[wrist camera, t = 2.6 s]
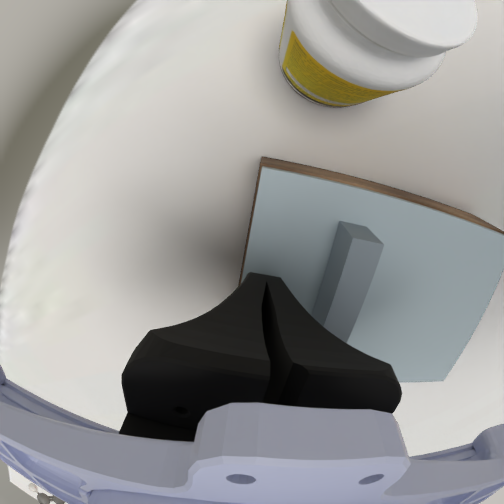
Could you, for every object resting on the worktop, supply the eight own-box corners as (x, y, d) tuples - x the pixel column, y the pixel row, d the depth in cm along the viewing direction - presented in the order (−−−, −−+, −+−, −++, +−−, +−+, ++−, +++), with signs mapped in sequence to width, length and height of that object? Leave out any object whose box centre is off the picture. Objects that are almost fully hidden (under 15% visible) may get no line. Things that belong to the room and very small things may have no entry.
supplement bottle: (383, 109, 13) (513, 97, 4) (284, 110, 14) (313, 65, 5) (370, 21, 11) (464, -61, 2) (272, 18, 12) (277, -102, 3)
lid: (508, 236, 11) (537, 254, 9) (439, 375, 15) (454, 402, 13) (262, 166, 11) (261, 174, 9) (227, 359, 15) (221, 395, 12)
